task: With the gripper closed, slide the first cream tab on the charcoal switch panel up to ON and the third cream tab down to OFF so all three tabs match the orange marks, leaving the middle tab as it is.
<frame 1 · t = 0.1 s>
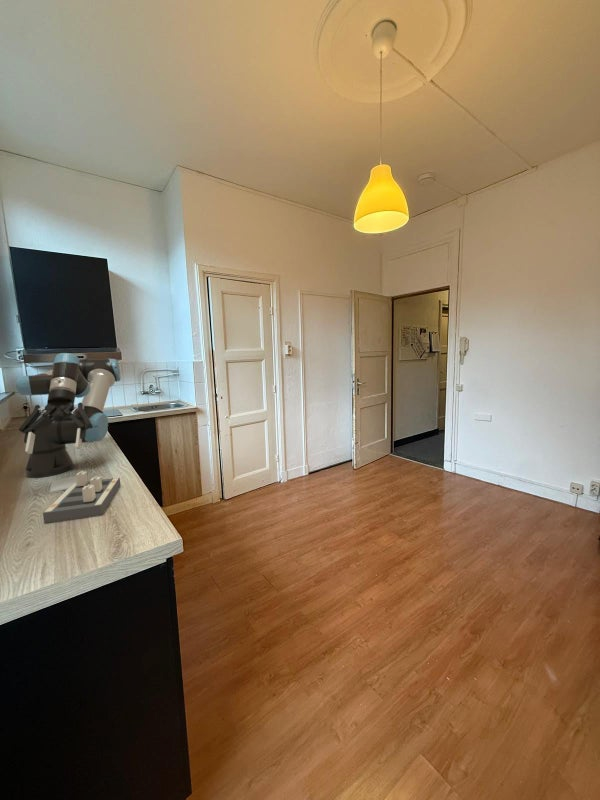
hand: (53, 450, 103), 15 cm above the counter, tool tilted 35°, fingers open, 13 cm apart
tab 1: (81, 478, 104), point 6 cm above the counter, slide at 0.0 cm
tab 3: (88, 492, 93), point 6 cm above the counter, slide at 6.0 cm
hard drive: (65, 487, 113), on the counter
switch panel: (87, 502, 99), on the counter
tab 2: (96, 483, 99), point 6 cm above the counter, slide at 6.0 cm
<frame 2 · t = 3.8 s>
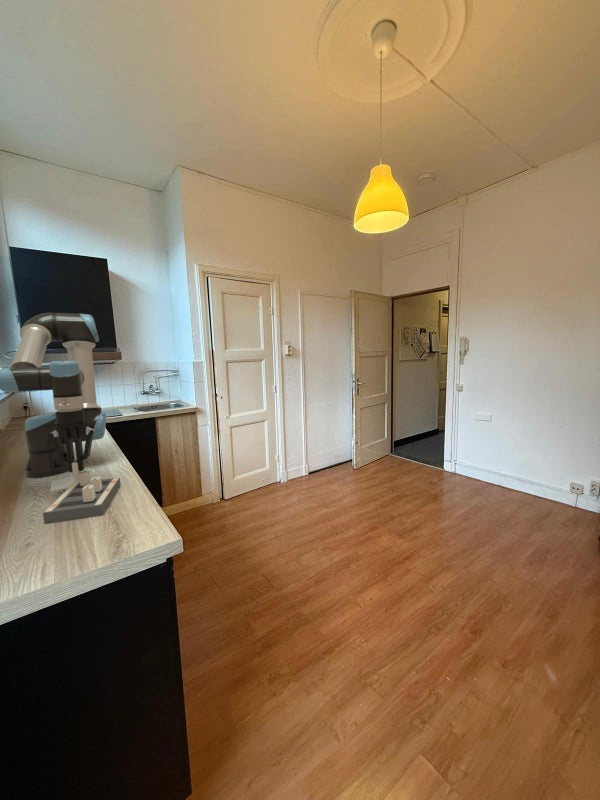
hand: (78, 480, 104), 5 cm above the counter, tool pointing down, fingers closed
tab 1: (85, 478, 104), point 6 cm above the counter, slide at 0.9 cm, touching gripper
everything else where it was.
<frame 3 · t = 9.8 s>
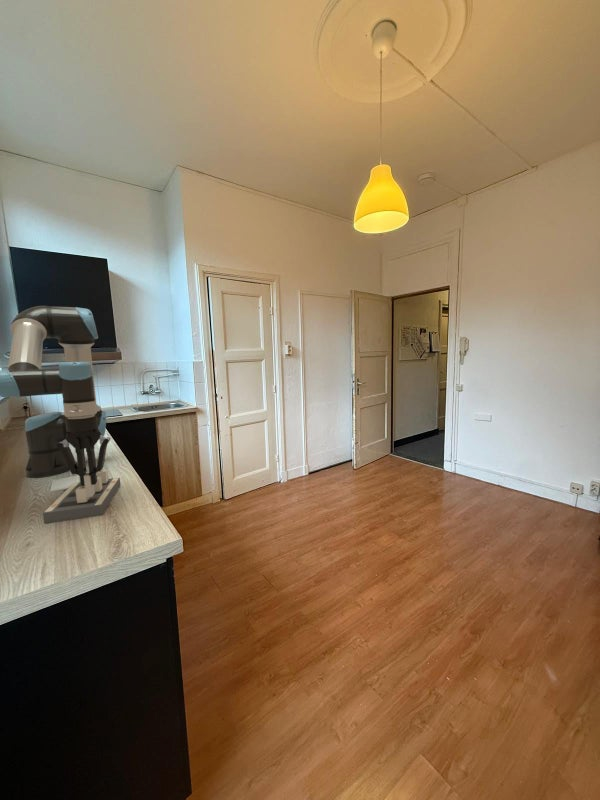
hand: (90, 495, 93), 5 cm above the counter, tool pointing down, fingers closed
tab 1: (102, 475, 106), point 6 cm above the counter, slide at 6.0 cm
tab 3: (82, 493, 92), point 6 cm above the counter, slide at 4.4 cm, touching gripper
everything else where it was.
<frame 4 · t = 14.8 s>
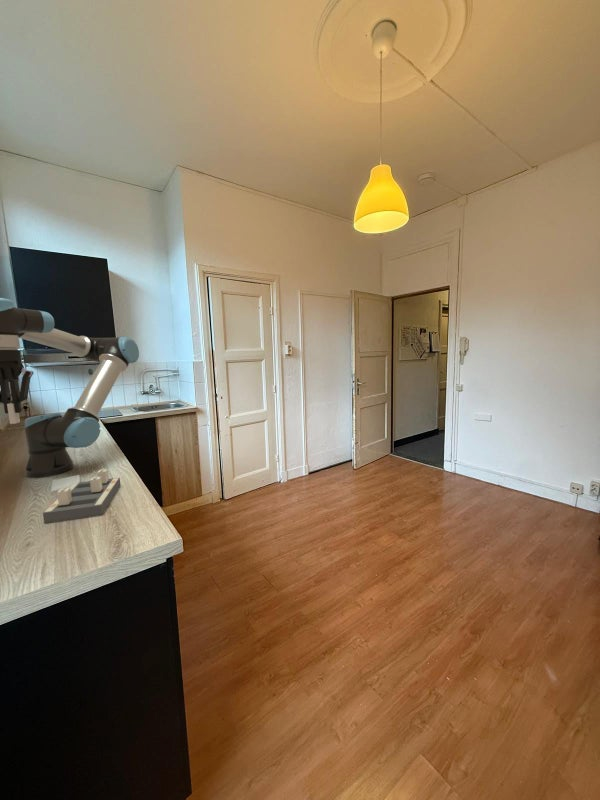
hand: (15, 422, 102), 24 cm above the counter, tool pointing down, fingers closed
tab 3: (64, 495, 91), point 6 cm above the counter, slide at -0.1 cm
everything else where it was.
at the end: tab 1 slide at 6.0 cm; tab 2 slide at 6.0 cm; tab 3 slide at -0.1 cm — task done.
